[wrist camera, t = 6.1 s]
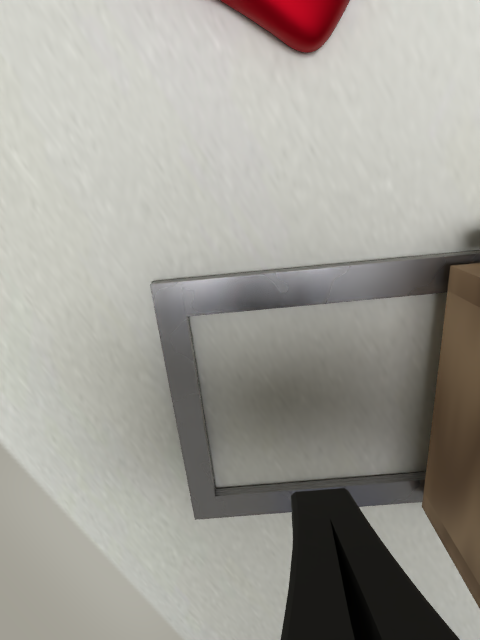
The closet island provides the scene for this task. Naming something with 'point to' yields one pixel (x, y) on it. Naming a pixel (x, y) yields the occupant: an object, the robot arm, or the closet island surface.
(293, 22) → the engagement ring
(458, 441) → the cart
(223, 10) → the closet island surface
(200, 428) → the frame
